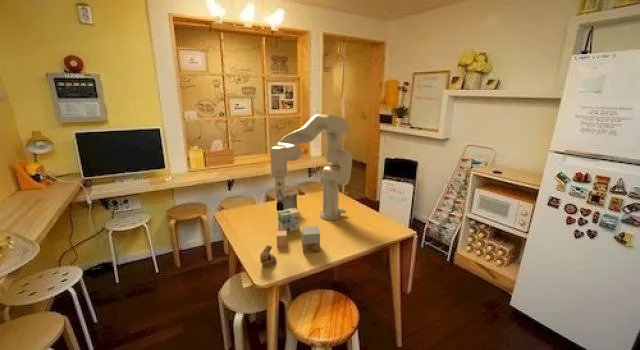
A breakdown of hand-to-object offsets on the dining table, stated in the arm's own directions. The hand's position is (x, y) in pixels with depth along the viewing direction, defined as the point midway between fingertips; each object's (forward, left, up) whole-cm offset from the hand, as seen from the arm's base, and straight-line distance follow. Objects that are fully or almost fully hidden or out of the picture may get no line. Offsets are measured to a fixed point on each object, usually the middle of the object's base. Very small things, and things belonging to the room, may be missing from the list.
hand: (280, 206), depth 139 cm
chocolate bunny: (+6, +17, -21) cm, 27 cm away
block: (0, 0, -21) cm, 21 cm away
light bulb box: (-4, -16, -21) cm, 27 cm away
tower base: (-14, +6, -21) cm, 26 cm away
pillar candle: (-5, -38, -21) cm, 44 cm away
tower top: (-14, +6, -16) cm, 22 cm away
